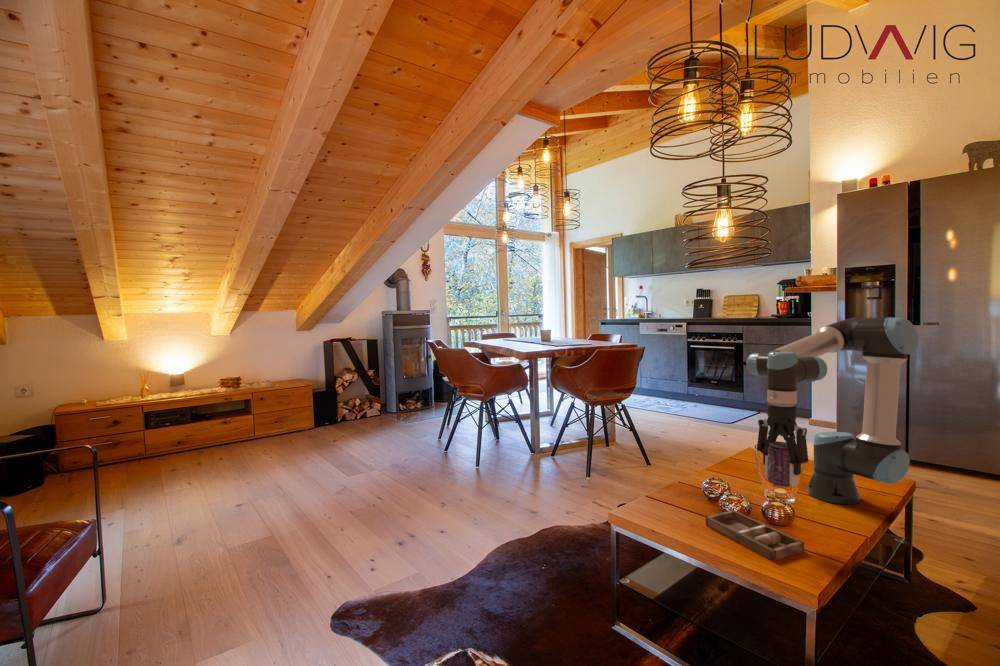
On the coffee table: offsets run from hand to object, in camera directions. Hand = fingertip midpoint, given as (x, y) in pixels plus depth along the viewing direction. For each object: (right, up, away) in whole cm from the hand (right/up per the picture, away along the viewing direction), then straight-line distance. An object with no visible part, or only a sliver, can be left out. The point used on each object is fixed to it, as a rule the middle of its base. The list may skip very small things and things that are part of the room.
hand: (781, 480), depth 136 cm
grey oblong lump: (-7, -17, -6) cm, 19 cm away
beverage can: (0, -1, 0) cm, 1 cm away
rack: (-9, -17, -1) cm, 20 cm away
